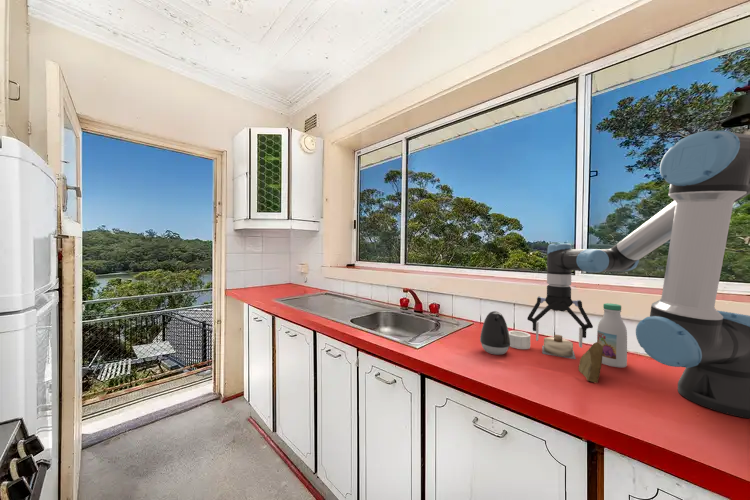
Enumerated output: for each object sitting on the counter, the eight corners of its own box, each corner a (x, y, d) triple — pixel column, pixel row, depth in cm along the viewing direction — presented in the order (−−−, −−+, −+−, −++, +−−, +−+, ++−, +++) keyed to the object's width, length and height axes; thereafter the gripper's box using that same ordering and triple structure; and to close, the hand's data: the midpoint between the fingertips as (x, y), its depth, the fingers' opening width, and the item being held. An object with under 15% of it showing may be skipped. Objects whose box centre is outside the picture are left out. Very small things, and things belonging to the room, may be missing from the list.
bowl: (529, 351, 105) (529, 338, 105) (506, 347, 109) (506, 334, 109) (530, 345, 112) (530, 332, 112) (508, 341, 116) (508, 329, 116)
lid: (574, 358, 98) (574, 341, 98) (543, 353, 102) (544, 336, 102) (571, 350, 106) (571, 334, 106) (543, 346, 110) (543, 330, 110)
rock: (608, 380, 77) (621, 367, 83) (585, 351, 81) (599, 340, 87) (573, 390, 85) (587, 377, 91) (554, 362, 89) (568, 352, 94)
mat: (575, 360, 97) (575, 359, 97) (542, 354, 102) (542, 353, 102) (573, 351, 106) (573, 350, 106) (542, 346, 111) (542, 345, 111)
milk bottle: (615, 359, 98) (616, 302, 98) (633, 369, 90) (634, 307, 90) (591, 358, 99) (592, 301, 99) (607, 368, 91) (608, 306, 91)
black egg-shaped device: (482, 356, 100) (482, 313, 100) (478, 346, 110) (478, 307, 110) (513, 359, 98) (513, 315, 98) (506, 348, 108) (507, 309, 108)
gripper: (599, 286, 101) (598, 346, 101) (521, 282, 113) (521, 334, 114) (603, 289, 94) (602, 352, 94) (520, 284, 107) (519, 339, 107)
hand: (558, 343), depth 104 cm, fingers open, 13 cm apart
